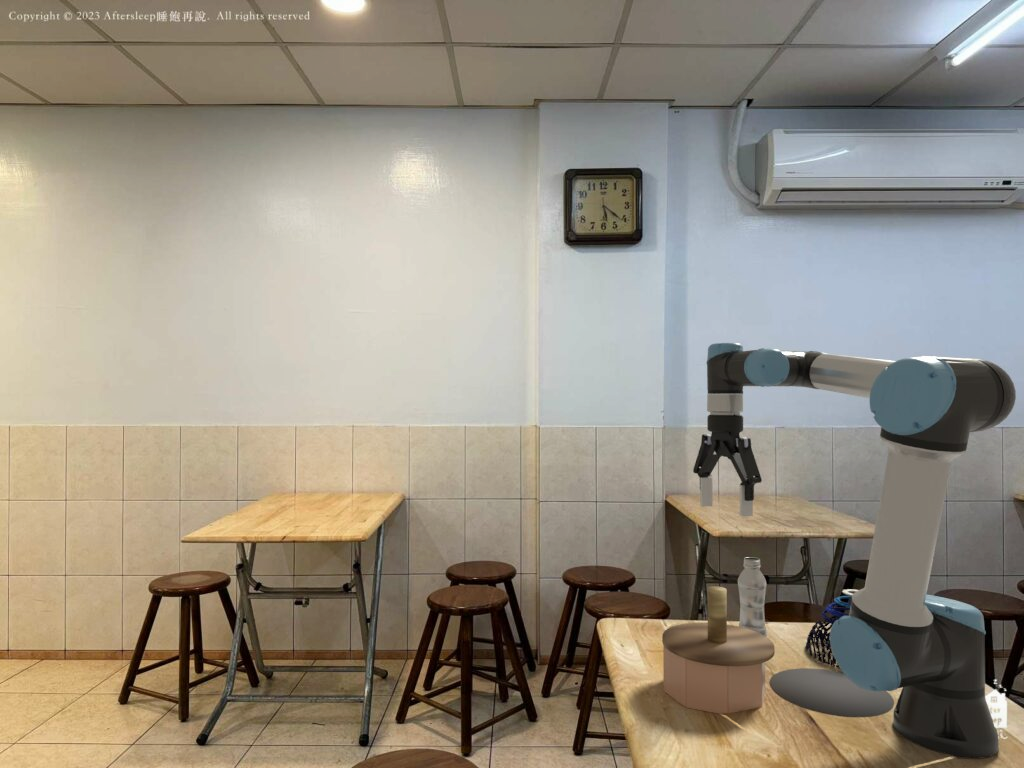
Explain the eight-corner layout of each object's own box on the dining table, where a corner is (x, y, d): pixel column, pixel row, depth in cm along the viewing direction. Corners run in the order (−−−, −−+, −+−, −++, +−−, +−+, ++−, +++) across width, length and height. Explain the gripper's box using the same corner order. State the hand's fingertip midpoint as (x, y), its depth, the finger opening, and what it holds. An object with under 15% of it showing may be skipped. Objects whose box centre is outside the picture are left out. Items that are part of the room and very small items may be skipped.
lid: (799, 654, 130) (798, 596, 130) (713, 674, 120) (713, 611, 121) (720, 621, 148) (720, 570, 149) (640, 636, 139) (640, 581, 139)
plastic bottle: (769, 643, 161) (769, 557, 161) (764, 652, 155) (763, 563, 155) (741, 638, 164) (740, 554, 164) (734, 647, 158) (734, 560, 158)
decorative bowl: (923, 679, 141) (923, 608, 141) (820, 672, 144) (820, 603, 145) (888, 644, 161) (887, 582, 161) (797, 639, 164) (797, 578, 164)
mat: (922, 708, 127) (921, 705, 127) (829, 727, 120) (829, 725, 120) (829, 664, 148) (829, 662, 148) (745, 678, 140) (745, 676, 140)
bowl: (784, 704, 129) (784, 656, 129) (703, 720, 122) (703, 669, 123) (723, 668, 146) (723, 625, 146) (648, 680, 139) (648, 635, 140)
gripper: (779, 415, 140) (779, 519, 140) (704, 412, 163) (705, 501, 163) (749, 415, 137) (749, 521, 137) (677, 412, 161) (678, 503, 160)
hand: (725, 511), depth 150 cm, fingers open, 13 cm apart
